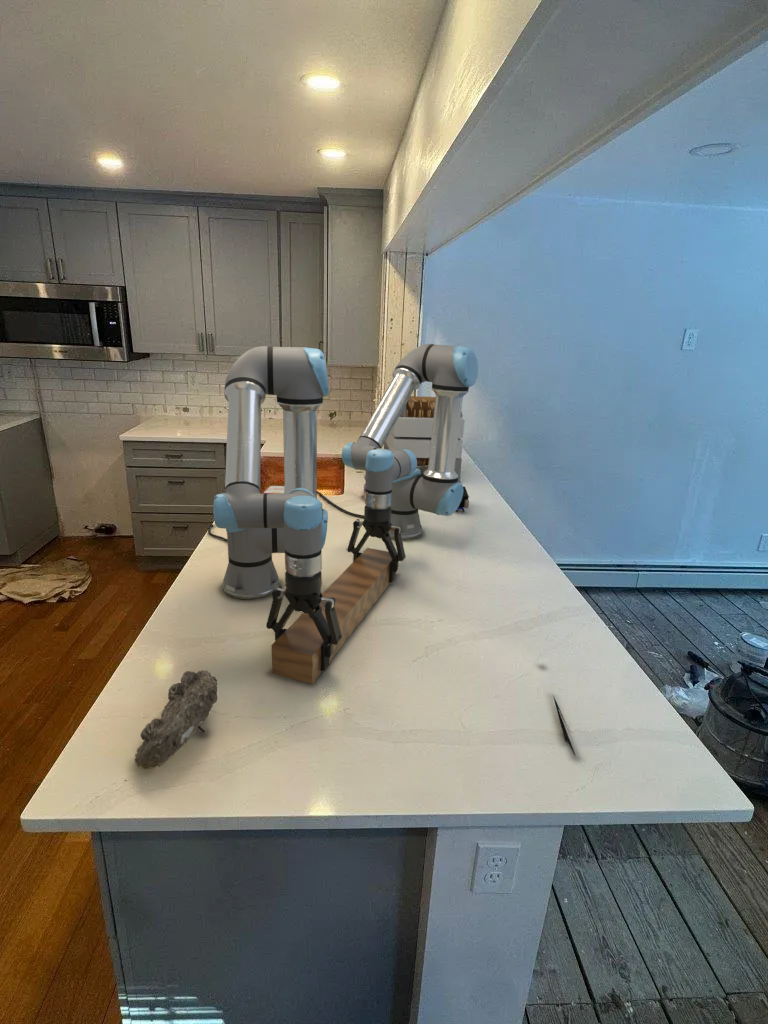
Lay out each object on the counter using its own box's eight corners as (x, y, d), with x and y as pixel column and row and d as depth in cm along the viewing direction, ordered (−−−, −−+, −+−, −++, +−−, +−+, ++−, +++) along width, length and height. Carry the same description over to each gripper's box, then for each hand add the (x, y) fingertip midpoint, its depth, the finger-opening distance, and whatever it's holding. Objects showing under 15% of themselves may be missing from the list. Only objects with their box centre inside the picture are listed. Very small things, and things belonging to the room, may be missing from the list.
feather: (542, 671, 128) (548, 665, 128) (575, 760, 102) (582, 753, 101) (536, 667, 128) (542, 661, 128) (567, 755, 102) (574, 748, 101)
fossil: (167, 671, 114) (219, 638, 109) (200, 702, 116) (252, 671, 112) (109, 762, 94) (169, 727, 89) (151, 796, 97) (212, 765, 92)
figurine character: (469, 517, 223) (463, 501, 236) (471, 500, 219) (465, 484, 233) (452, 516, 222) (447, 500, 236) (454, 499, 219) (449, 483, 232)
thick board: (366, 568, 172) (367, 547, 170) (396, 574, 169) (397, 553, 167) (271, 673, 122) (271, 645, 119) (312, 684, 119) (312, 655, 116)
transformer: (382, 463, 289) (386, 382, 275) (445, 464, 293) (451, 384, 279) (390, 482, 257) (394, 392, 243) (460, 483, 261) (468, 394, 247)
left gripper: (246, 568, 117) (250, 659, 125) (345, 588, 111) (343, 684, 118) (265, 554, 124) (268, 642, 132) (360, 573, 117) (357, 664, 125)
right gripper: (335, 503, 158) (334, 576, 165) (412, 515, 151) (407, 590, 159) (346, 496, 165) (344, 565, 172) (420, 507, 158) (415, 579, 165)
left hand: (303, 662), depth 125 cm, fingers closed on thick board, 10 cm apart
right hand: (375, 577), depth 165 cm, fingers closed on thick board, 10 cm apart
